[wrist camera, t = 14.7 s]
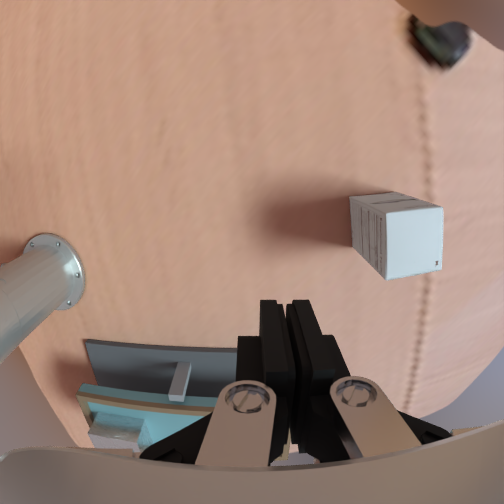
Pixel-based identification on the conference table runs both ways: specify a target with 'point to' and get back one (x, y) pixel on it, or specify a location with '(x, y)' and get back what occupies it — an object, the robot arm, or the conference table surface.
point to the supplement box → (397, 234)
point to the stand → (163, 368)
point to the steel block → (119, 432)
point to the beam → (149, 409)
